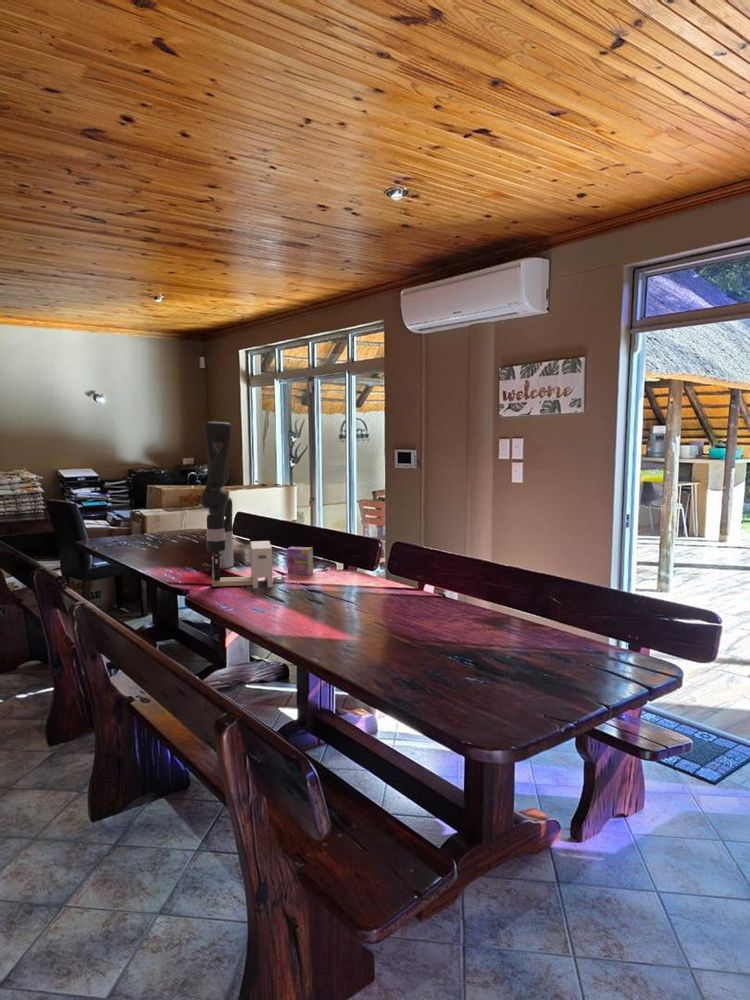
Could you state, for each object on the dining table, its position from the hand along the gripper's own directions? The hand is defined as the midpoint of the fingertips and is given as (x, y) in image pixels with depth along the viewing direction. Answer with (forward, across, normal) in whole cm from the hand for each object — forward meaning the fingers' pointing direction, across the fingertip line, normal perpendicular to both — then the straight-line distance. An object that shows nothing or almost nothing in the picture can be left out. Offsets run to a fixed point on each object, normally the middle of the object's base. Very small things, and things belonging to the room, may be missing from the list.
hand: (217, 579), depth 268 cm
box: (+3, -14, +36) cm, 39 cm away
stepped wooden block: (+2, 0, +6) cm, 7 cm away
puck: (+3, 0, +26) cm, 26 cm away
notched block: (+3, 0, +18) cm, 18 cm away
